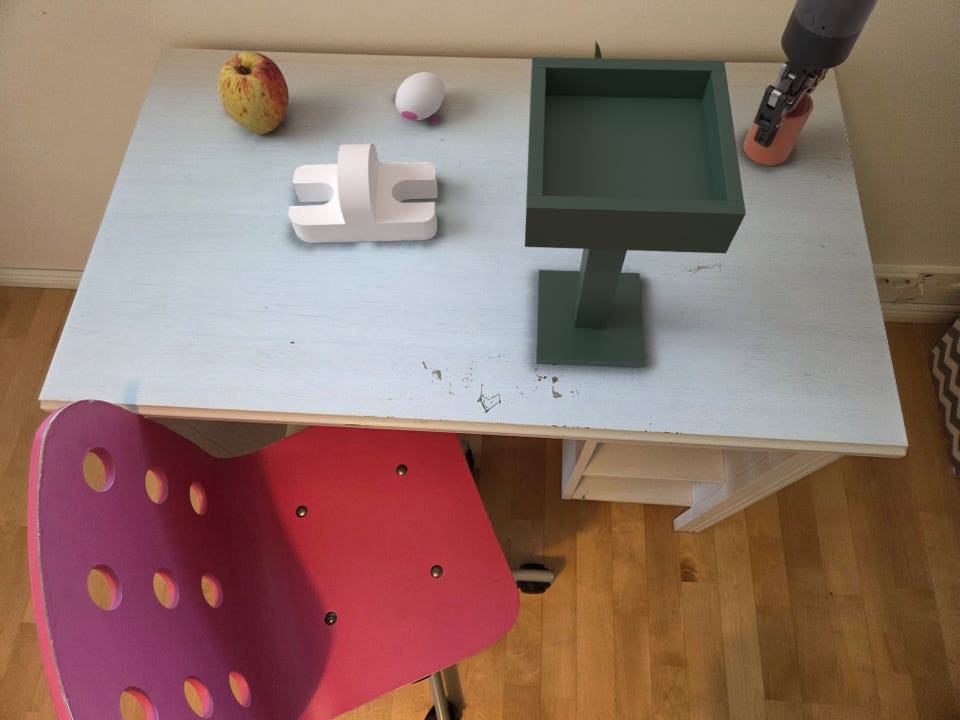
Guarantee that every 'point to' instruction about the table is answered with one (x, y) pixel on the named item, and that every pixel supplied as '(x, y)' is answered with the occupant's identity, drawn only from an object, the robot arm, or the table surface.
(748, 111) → the table surface
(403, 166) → the slotted bracket
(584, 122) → the green pedestal tray
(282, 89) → the apple
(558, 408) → the table surface
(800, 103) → the cup
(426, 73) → the white oval piece
